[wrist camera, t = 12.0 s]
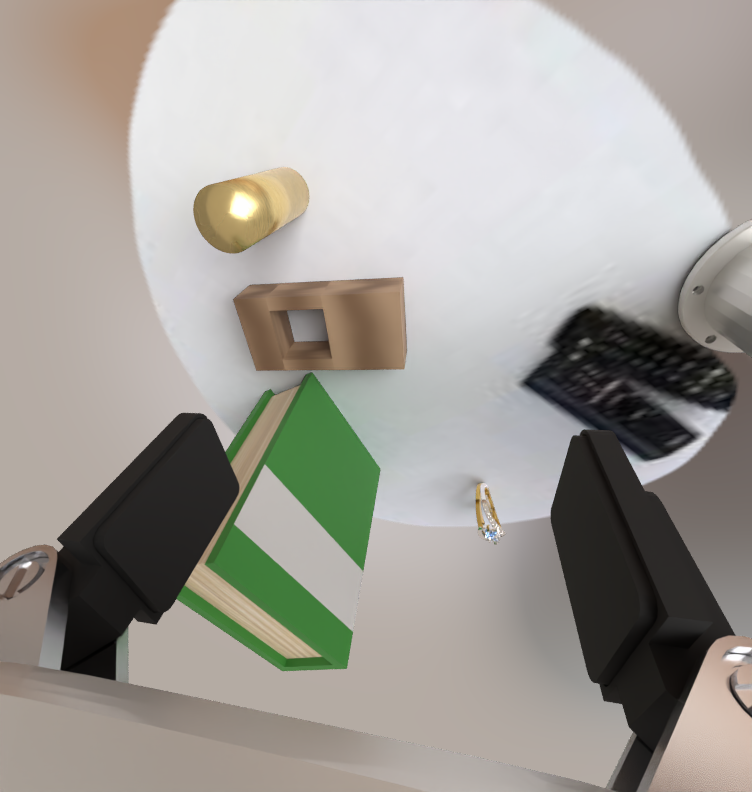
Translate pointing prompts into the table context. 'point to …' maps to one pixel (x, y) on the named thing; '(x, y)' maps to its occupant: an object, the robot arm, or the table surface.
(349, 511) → the hardback book
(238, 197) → the peg
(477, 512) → the ring
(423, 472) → the table surface
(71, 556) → the robot arm
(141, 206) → the table surface
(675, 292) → the table surface
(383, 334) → the eye block
